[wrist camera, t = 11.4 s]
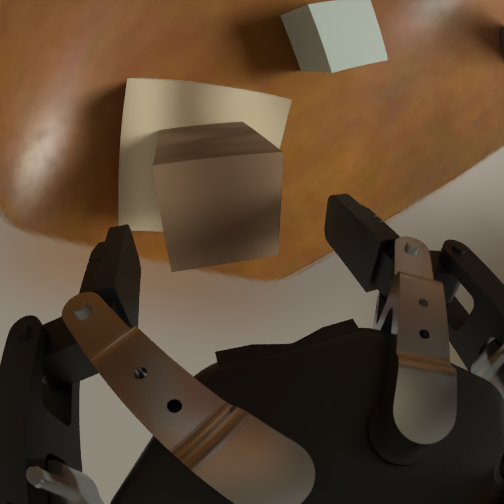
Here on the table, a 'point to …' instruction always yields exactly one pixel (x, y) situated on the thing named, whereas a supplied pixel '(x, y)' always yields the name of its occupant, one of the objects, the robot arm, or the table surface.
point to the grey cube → (335, 35)
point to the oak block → (173, 116)
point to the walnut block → (218, 194)
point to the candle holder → (502, 40)
